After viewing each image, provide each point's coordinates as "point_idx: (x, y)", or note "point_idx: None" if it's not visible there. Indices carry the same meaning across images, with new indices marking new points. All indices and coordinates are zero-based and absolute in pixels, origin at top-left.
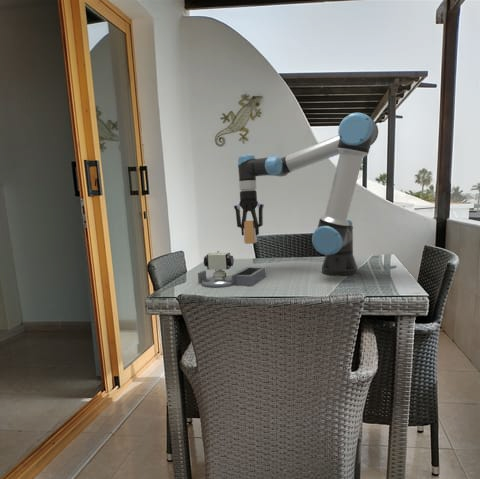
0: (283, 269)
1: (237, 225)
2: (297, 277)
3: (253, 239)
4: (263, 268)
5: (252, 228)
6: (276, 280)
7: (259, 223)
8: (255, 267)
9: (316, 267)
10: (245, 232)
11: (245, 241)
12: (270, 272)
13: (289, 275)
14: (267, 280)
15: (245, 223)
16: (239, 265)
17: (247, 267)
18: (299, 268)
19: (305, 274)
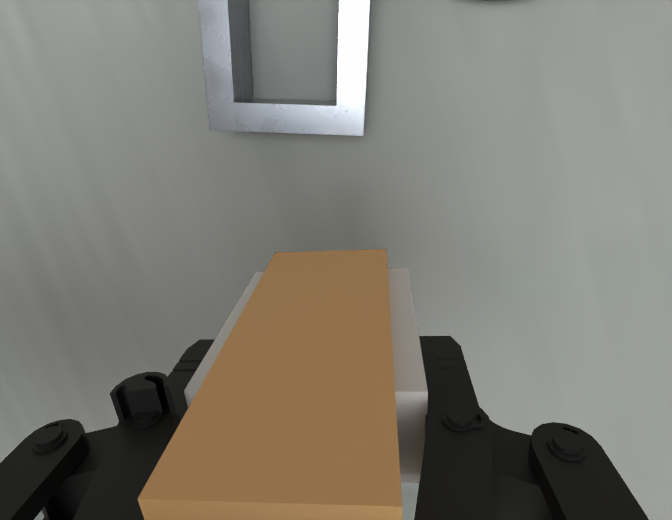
0: (201, 330)
1: (594, 454)
2: (29, 127)
3: (266, 274)
4: (210, 95)
5: (222, 366)
6: (115, 15)
7: (36, 470)
8: (288, 128)
9: (49, 383)
10: (377, 326)
11: (383, 259)
12: (247, 247)
13: (99, 176)
14: (173, 4)
15: (361, 455)
16: (516, 421)
17: (354, 121)
18: (124, 358)
19: (23, 213)
